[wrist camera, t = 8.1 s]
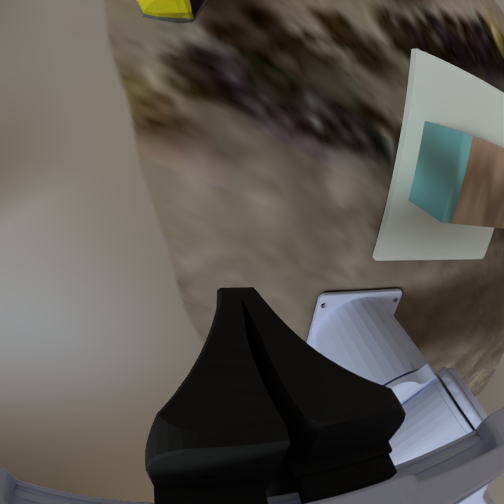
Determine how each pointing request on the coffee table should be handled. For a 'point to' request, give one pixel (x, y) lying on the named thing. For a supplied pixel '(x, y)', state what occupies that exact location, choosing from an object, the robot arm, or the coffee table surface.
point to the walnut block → (459, 178)
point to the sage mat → (415, 113)
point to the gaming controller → (171, 9)
